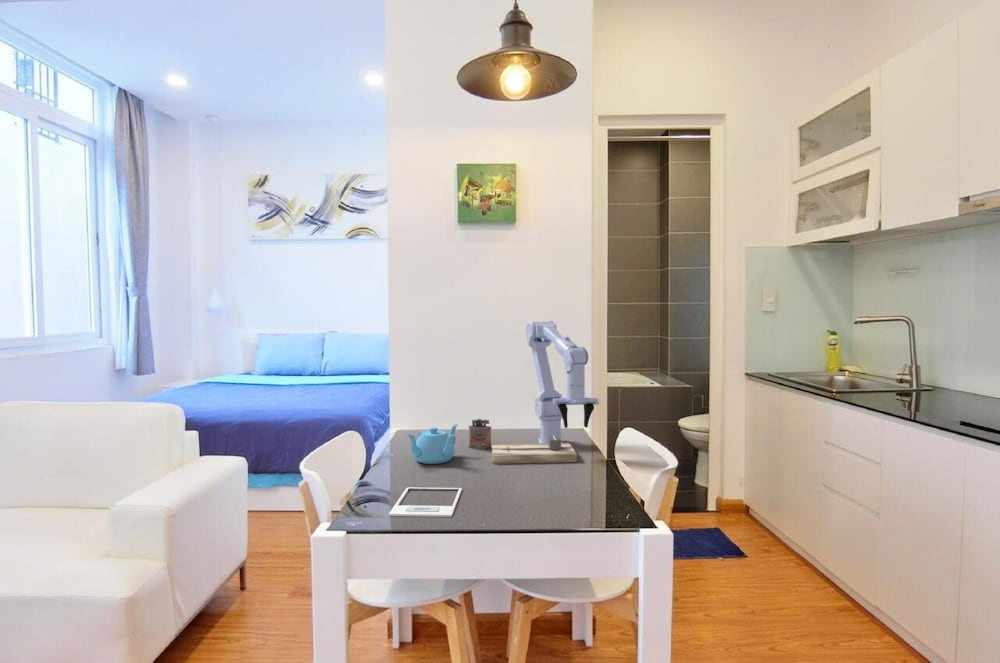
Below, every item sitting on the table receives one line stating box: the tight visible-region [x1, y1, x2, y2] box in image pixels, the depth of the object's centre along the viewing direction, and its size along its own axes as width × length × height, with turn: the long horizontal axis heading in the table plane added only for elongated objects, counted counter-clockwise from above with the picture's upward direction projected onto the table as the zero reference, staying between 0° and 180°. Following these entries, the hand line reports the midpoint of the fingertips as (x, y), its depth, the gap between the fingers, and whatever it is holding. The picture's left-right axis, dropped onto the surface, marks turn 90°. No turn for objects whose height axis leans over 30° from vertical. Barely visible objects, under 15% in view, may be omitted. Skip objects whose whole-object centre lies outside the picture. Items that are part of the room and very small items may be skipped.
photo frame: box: [388, 486, 463, 518], centre depth 126 cm, size 15×1×18 cm
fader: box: [548, 436, 562, 449], centre depth 166 cm, size 5×4×3 cm
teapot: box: [406, 423, 459, 465], centre depth 163 cm, size 15×15×10 cm
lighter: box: [468, 418, 492, 451], centre depth 177 cm, size 8×3×10 cm, turn 73°
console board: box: [491, 442, 578, 465], centre depth 165 cm, size 14×26×3 cm, turn 92°
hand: (575, 426), depth 166 cm, fingers open, 6 cm apart
